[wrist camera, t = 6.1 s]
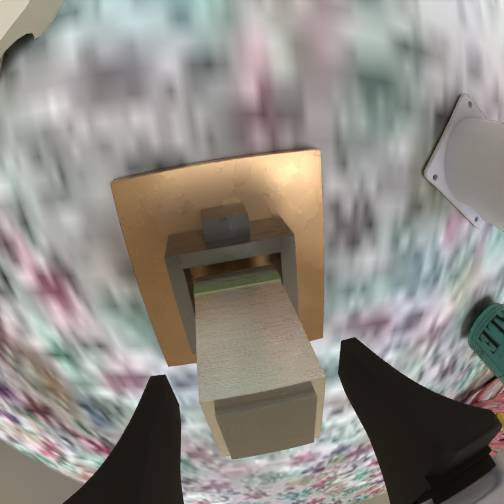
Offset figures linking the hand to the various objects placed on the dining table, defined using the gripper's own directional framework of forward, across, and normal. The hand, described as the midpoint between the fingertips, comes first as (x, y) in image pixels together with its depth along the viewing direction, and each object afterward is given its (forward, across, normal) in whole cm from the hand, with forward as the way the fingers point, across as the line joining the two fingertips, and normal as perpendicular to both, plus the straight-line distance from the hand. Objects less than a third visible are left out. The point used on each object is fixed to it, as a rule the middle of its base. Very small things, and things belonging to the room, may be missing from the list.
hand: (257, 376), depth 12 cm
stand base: (+10, 0, 0) cm, 10 cm away
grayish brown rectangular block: (+5, 0, 0) cm, 5 cm away
